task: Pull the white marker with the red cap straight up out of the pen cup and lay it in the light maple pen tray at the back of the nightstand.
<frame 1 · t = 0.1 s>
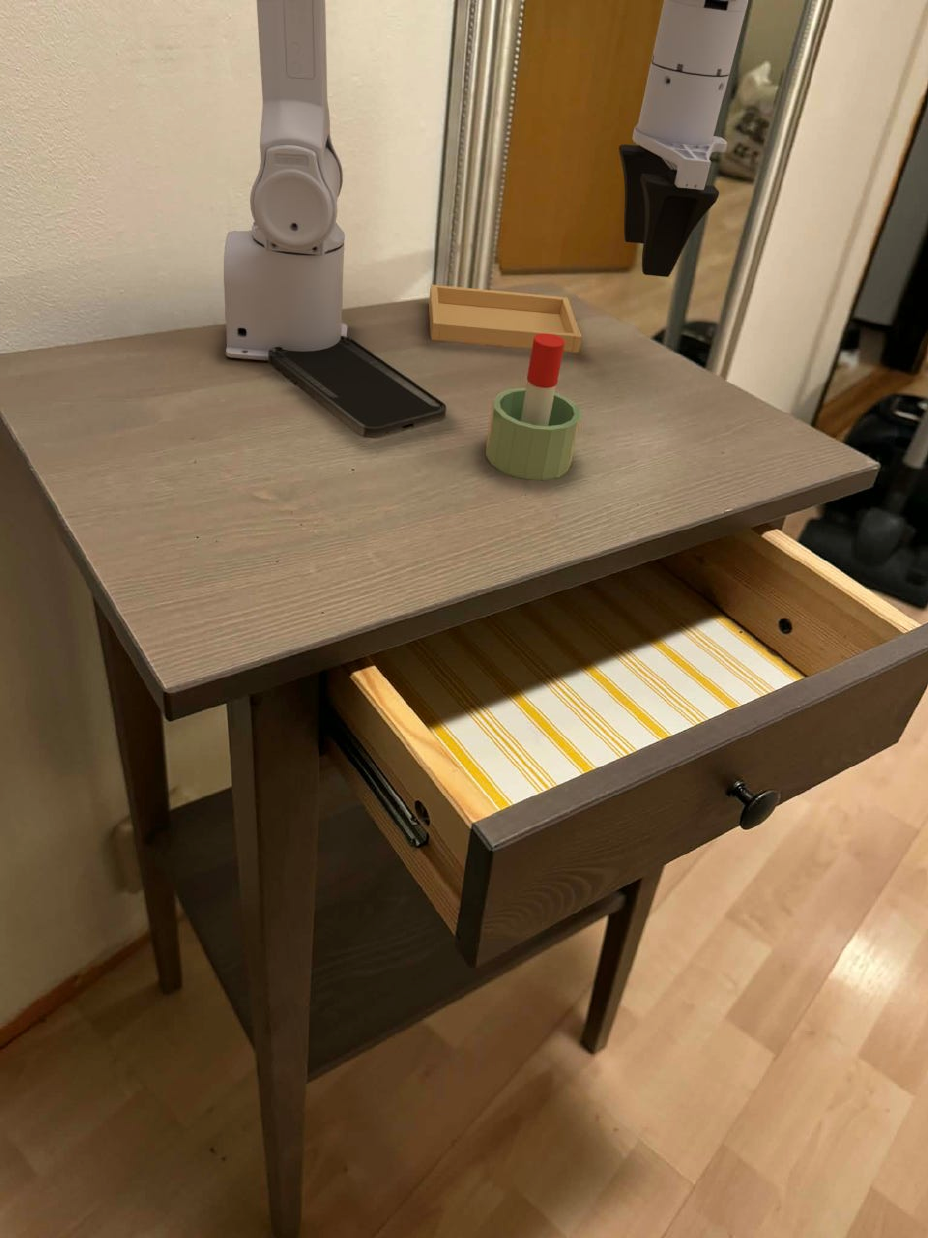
hand: (645, 257, 77), 10 cm above the table, tool pointing down, fingers open, 7 cm apart
pen tray: (500, 330, 88), on the table
marker: (528, 457, 69), resting on pen cup
pen cup: (527, 463, 69), on the table
phone: (353, 393, 75), on the table, touching arm
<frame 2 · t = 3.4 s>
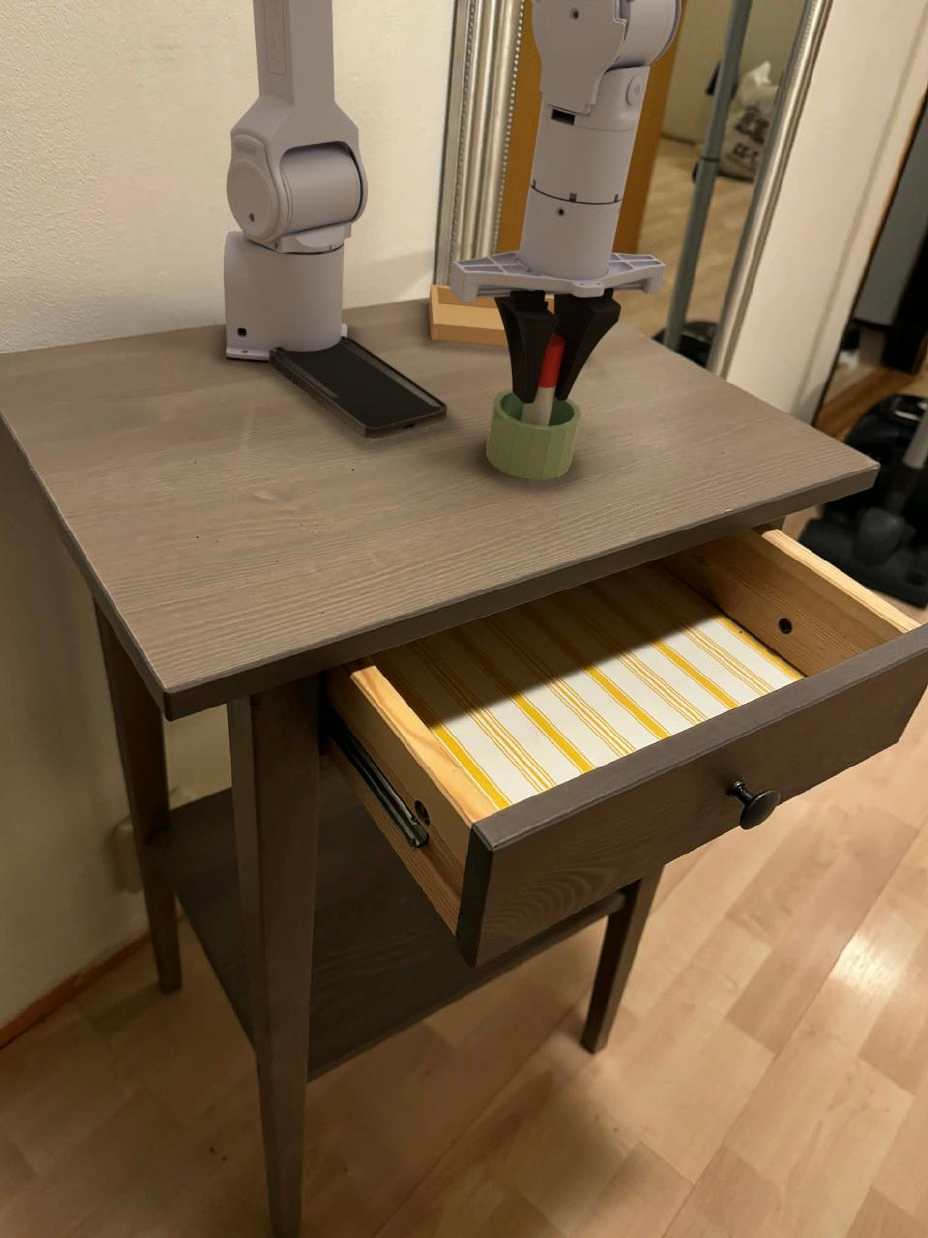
hand: (539, 395, 66), 5 cm above the table, tool pointing down, fingers closed on marker, 2 cm apart
marker: (528, 457, 69), point 1 cm above the table, touching gripper, pen cup
everything else where it was.
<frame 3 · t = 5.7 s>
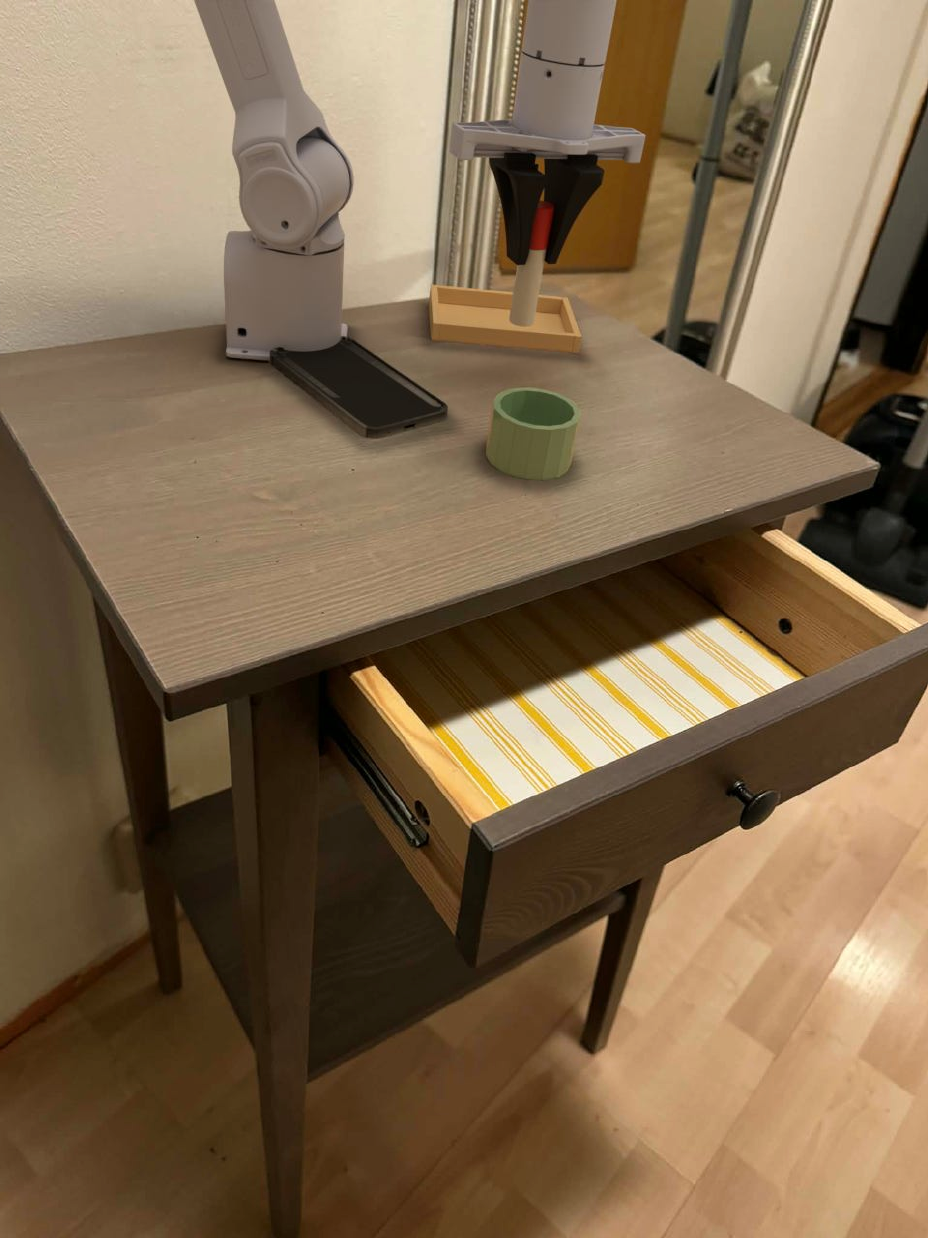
hand: (531, 259, 72), 10 cm above the table, tool pointing down, fingers closed on marker
marker: (521, 321, 75), point 5 cm above the table, touching gripper
everything else where it was.
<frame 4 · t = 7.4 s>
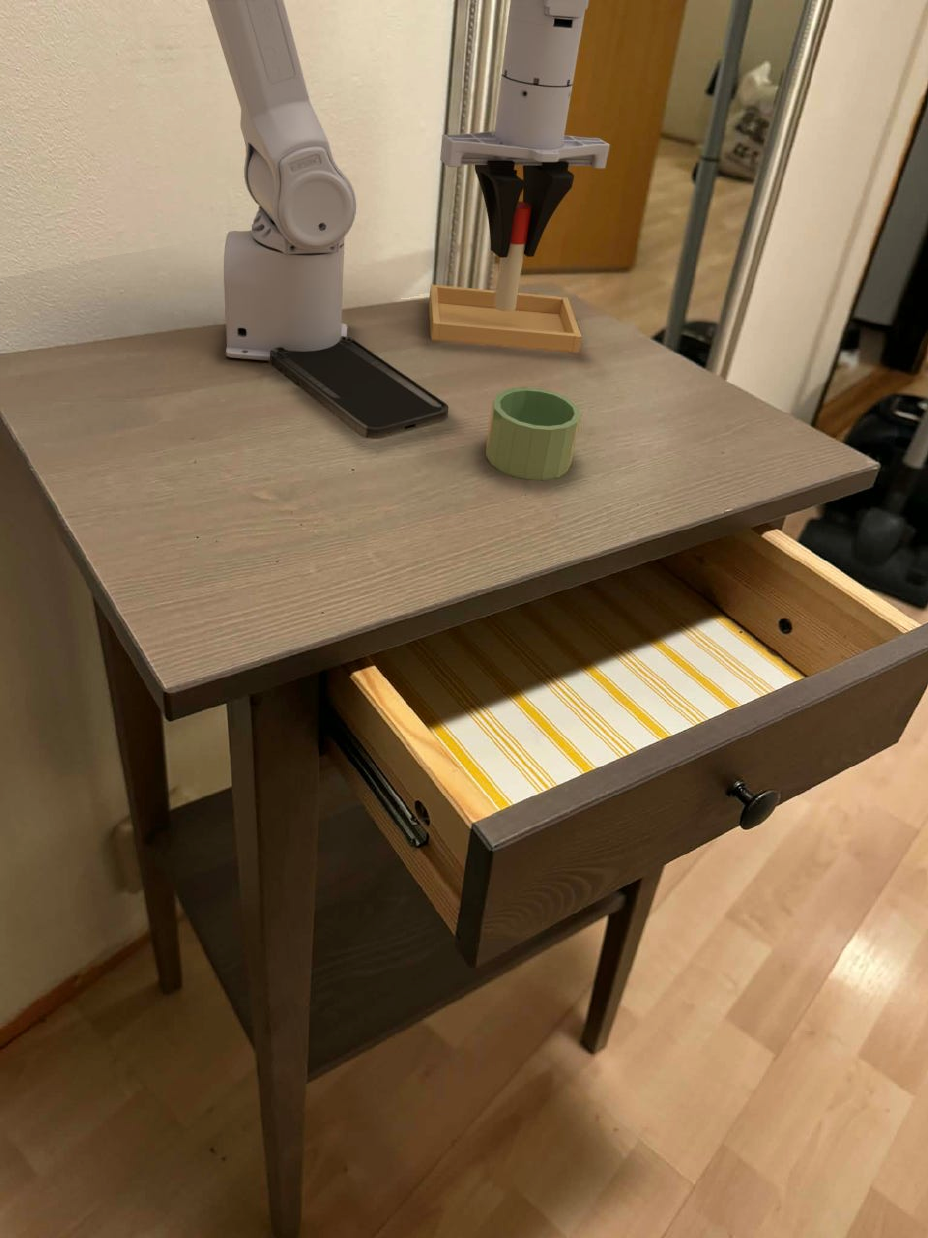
hand: (512, 253, 83), 7 cm above the table, tool pointing down, fingers closed on marker, 2 cm apart
marker: (504, 307, 86), point 2 cm above the table, touching gripper
everything else where it was.
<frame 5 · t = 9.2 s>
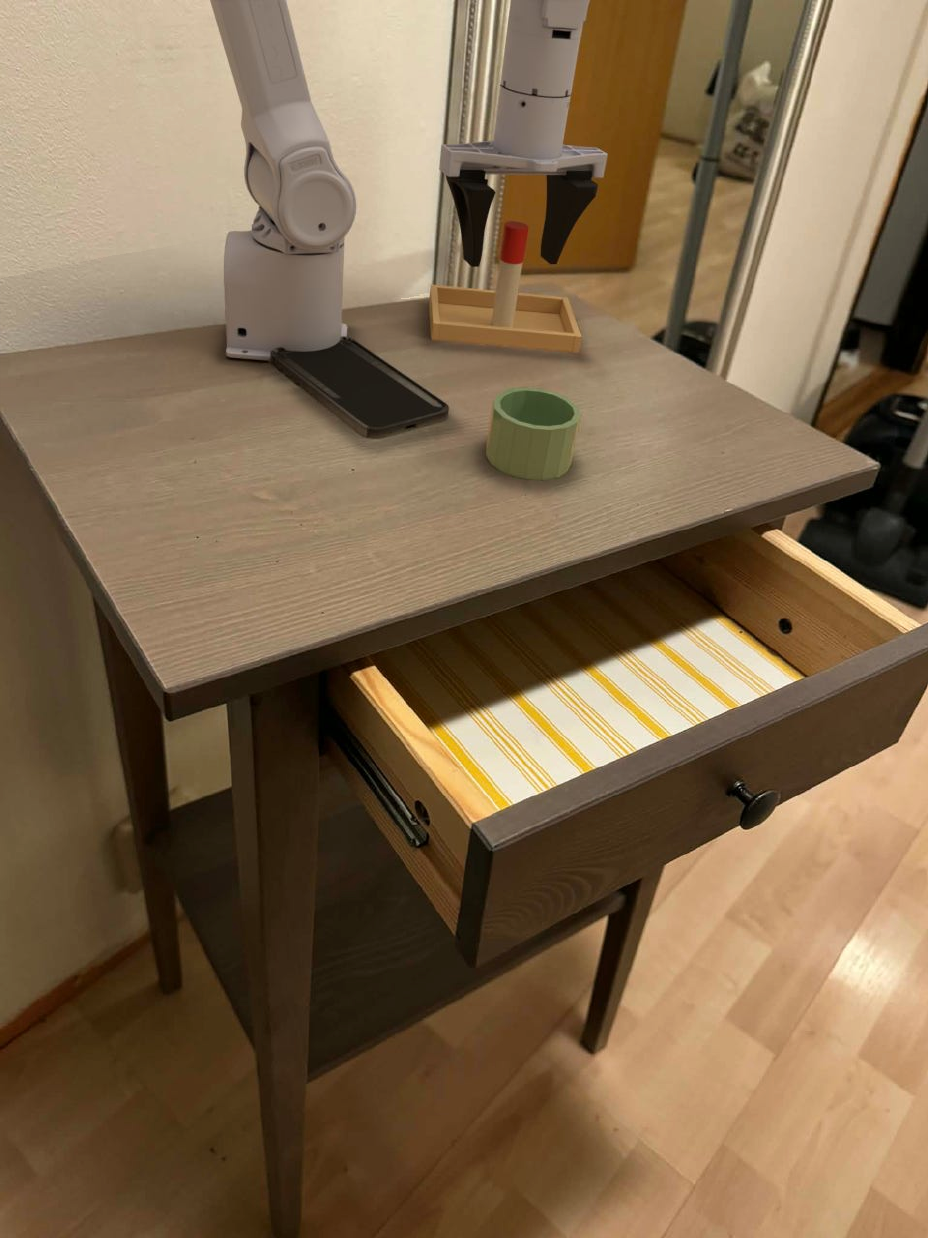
hand: (510, 261, 83), 6 cm above the table, tool pointing down, fingers open, 7 cm apart
marker: (502, 325, 87), resting on pen tray
everything else where it was.
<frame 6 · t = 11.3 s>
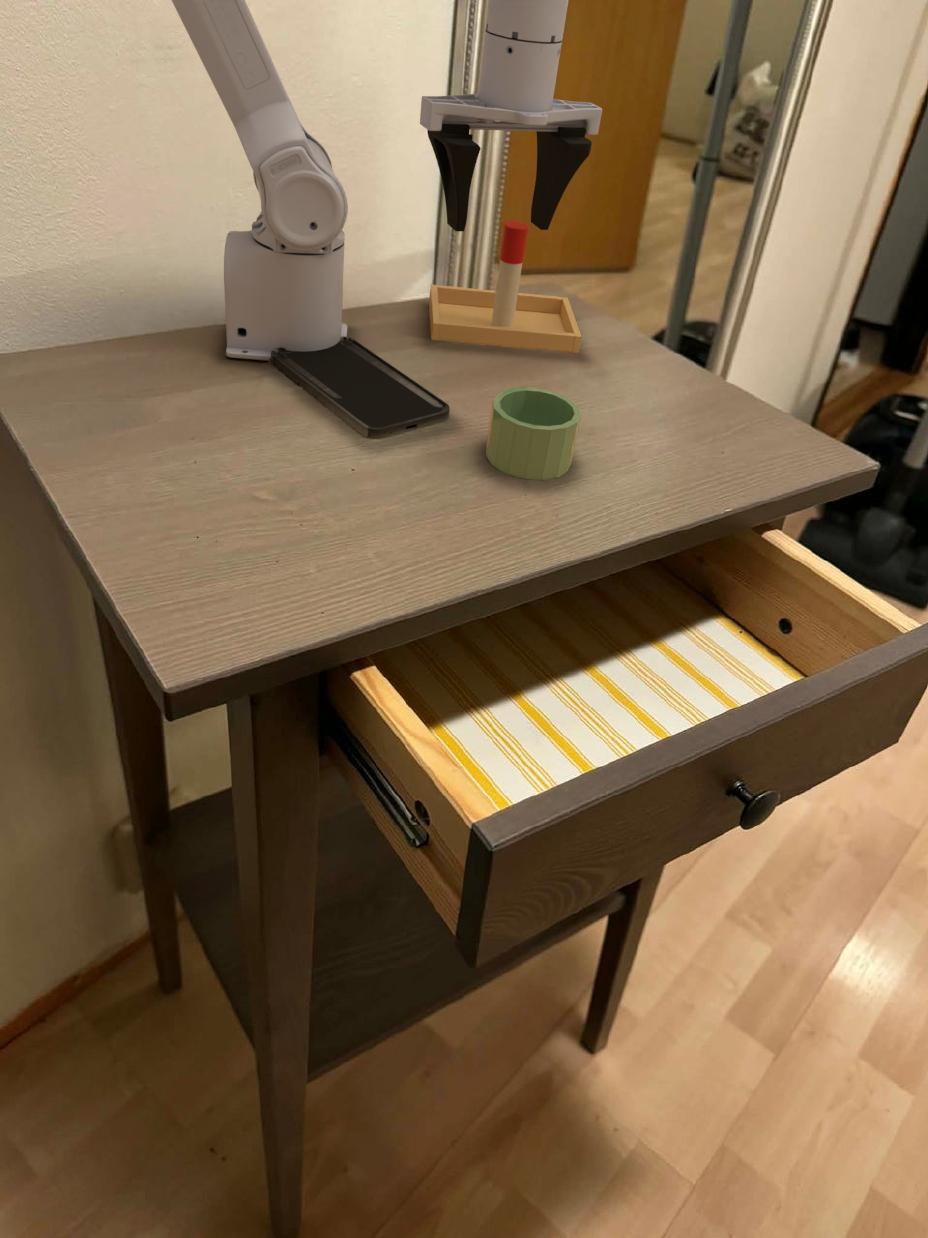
hand: (498, 226, 78), 10 cm above the table, tool pointing down, fingers open, 7 cm apart
nothing on the table moved.
at the end: marker inside the target area in the pen tray (0.0 cm from its centre), point 0.5 cm above the pen tray's base; the gripper is holding nothing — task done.
